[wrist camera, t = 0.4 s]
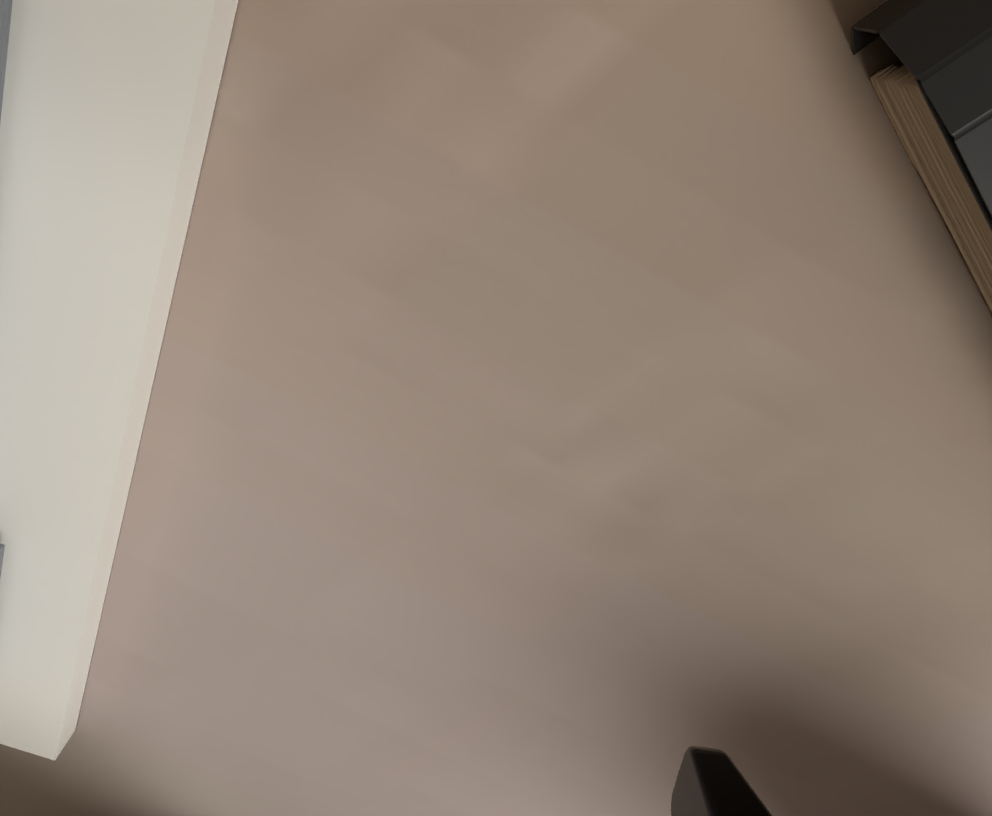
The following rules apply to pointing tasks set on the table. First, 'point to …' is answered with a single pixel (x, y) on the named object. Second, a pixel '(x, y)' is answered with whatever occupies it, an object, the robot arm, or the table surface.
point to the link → (0, 30)
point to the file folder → (943, 110)
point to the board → (85, 309)
